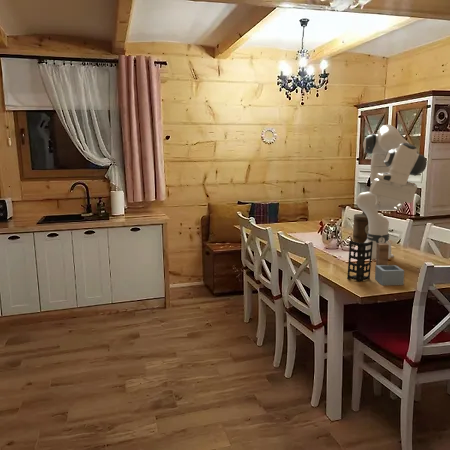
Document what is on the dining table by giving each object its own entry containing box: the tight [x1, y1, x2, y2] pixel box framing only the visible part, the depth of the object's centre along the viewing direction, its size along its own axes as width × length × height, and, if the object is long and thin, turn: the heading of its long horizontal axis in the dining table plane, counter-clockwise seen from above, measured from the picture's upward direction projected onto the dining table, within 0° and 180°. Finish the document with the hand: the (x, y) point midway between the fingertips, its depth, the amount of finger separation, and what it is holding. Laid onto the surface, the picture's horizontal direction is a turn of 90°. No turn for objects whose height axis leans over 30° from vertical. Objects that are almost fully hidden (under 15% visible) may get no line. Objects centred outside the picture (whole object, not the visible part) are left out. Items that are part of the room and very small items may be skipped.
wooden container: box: [352, 210, 369, 243], centre depth 292 cm, size 15×15×22 cm
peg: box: [375, 243, 389, 266], centre depth 214 cm, size 4×4×16 cm
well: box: [374, 264, 405, 286], centre depth 202 cm, size 10×10×7 cm
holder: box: [346, 240, 373, 282], centre depth 206 cm, size 11×8×20 cm
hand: (386, 207), depth 196 cm, fingers open, 8 cm apart
